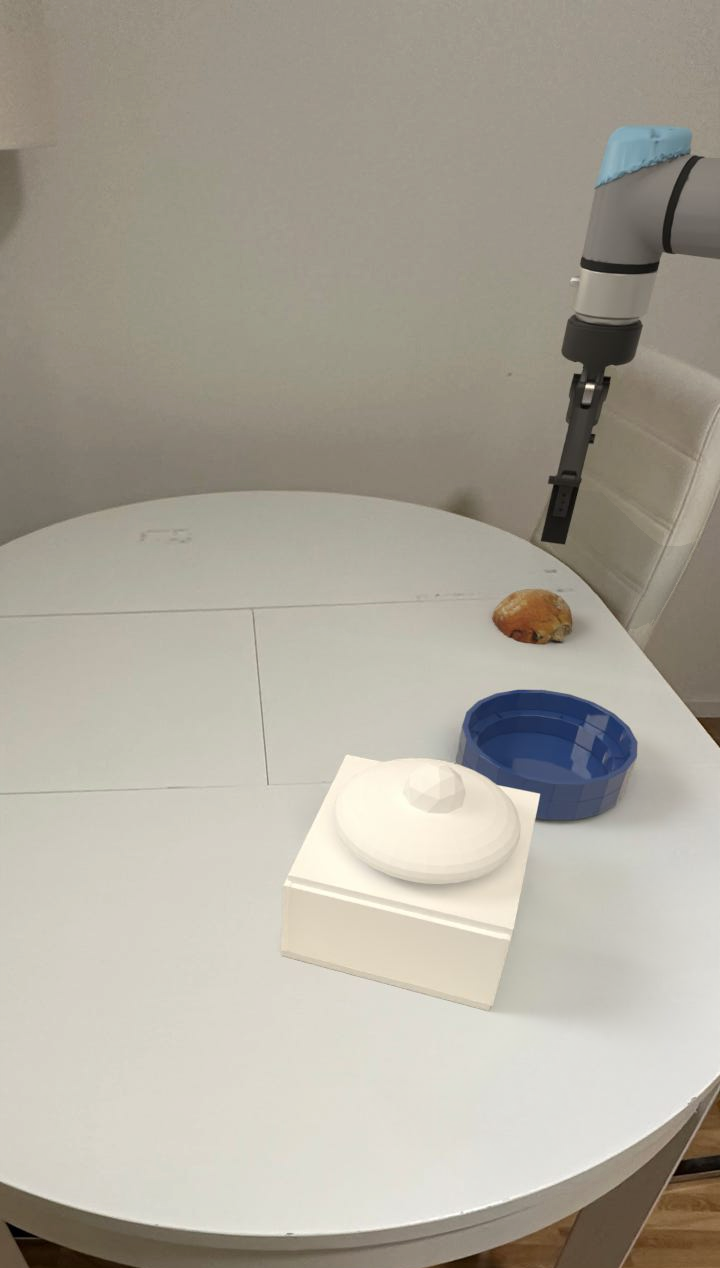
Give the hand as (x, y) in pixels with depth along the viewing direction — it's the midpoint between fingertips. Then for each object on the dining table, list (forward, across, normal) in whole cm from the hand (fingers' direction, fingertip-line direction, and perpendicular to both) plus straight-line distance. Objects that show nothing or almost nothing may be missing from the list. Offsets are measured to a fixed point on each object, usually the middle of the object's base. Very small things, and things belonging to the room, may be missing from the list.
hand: (558, 520), depth 108 cm
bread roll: (+16, 0, 0) cm, 16 cm away
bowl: (+15, +30, +4) cm, 34 cm away
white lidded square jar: (+16, +55, -5) cm, 57 cm away
